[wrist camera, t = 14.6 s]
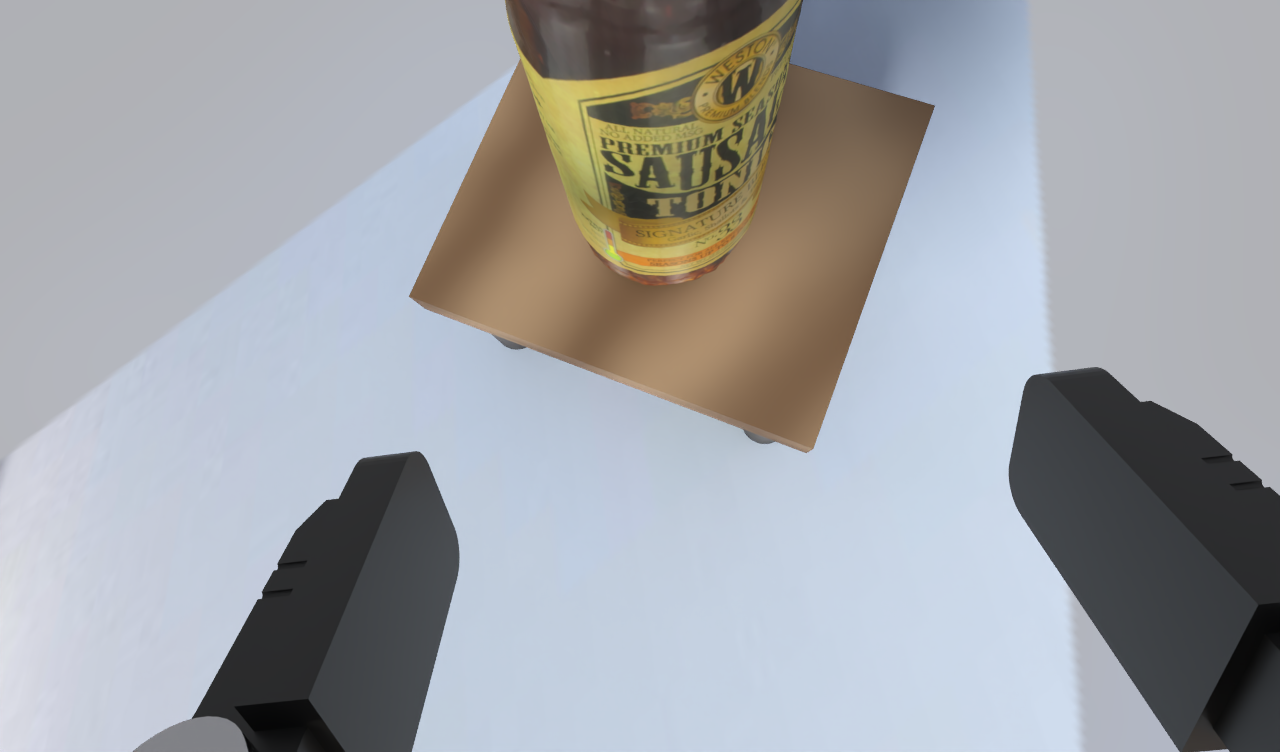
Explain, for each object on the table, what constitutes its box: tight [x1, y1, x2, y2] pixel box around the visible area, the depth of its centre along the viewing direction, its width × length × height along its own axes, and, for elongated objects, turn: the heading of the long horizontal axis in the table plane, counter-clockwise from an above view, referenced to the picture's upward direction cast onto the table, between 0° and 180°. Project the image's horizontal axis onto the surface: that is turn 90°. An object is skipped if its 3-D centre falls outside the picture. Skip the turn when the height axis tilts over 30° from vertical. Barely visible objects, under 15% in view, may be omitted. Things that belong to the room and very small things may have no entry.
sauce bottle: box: [505, 0, 803, 286], centre depth 15 cm, size 7×6×20 cm
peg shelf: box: [409, 58, 935, 453], centre depth 28 cm, size 15×13×8 cm
